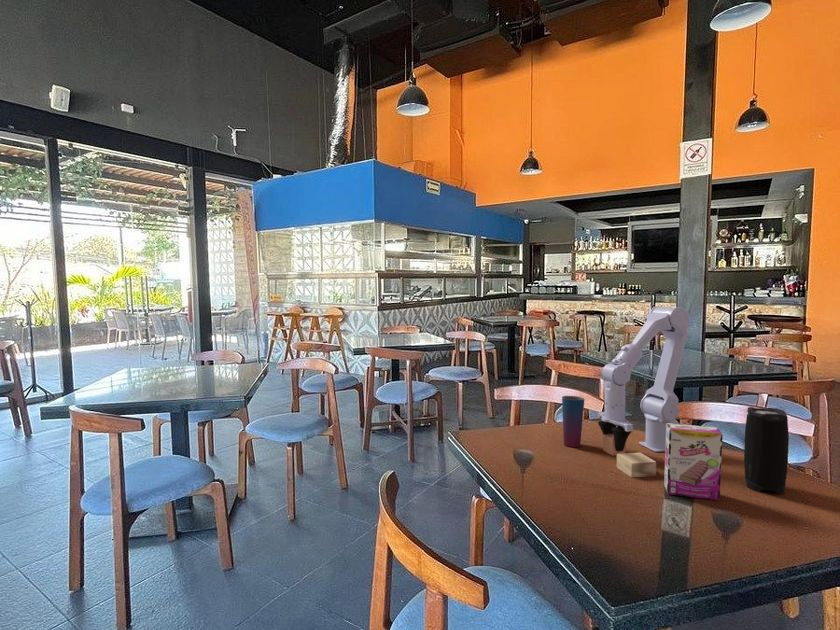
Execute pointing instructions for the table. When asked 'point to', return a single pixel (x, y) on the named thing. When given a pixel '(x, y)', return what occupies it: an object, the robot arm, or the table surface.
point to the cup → (572, 420)
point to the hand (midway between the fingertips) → (614, 447)
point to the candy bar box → (693, 461)
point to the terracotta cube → (611, 445)
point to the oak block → (636, 464)
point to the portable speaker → (766, 449)
